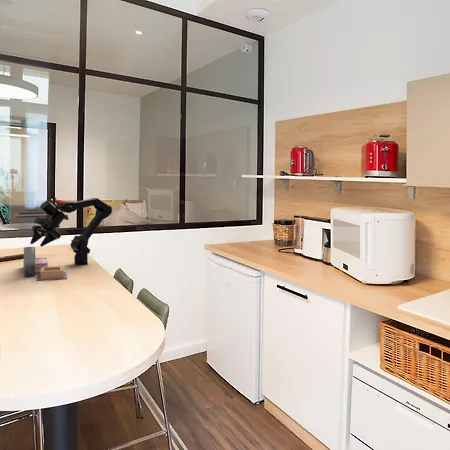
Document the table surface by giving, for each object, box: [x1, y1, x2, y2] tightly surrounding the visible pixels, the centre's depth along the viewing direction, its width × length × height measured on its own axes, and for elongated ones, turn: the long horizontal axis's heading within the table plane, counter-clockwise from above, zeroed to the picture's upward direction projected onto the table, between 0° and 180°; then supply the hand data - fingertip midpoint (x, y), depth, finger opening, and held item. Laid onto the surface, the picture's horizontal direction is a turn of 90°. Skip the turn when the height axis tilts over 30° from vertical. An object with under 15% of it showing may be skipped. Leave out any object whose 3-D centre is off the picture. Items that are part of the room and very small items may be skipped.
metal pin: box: [23, 246, 37, 278], centre depth 192 cm, size 5×5×14 cm
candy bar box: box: [22, 257, 49, 274], centre depth 205 cm, size 11×5×16 cm
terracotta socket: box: [36, 265, 68, 281], centre depth 193 cm, size 13×13×4 cm
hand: (35, 244), depth 201 cm, fingers open, 9 cm apart
